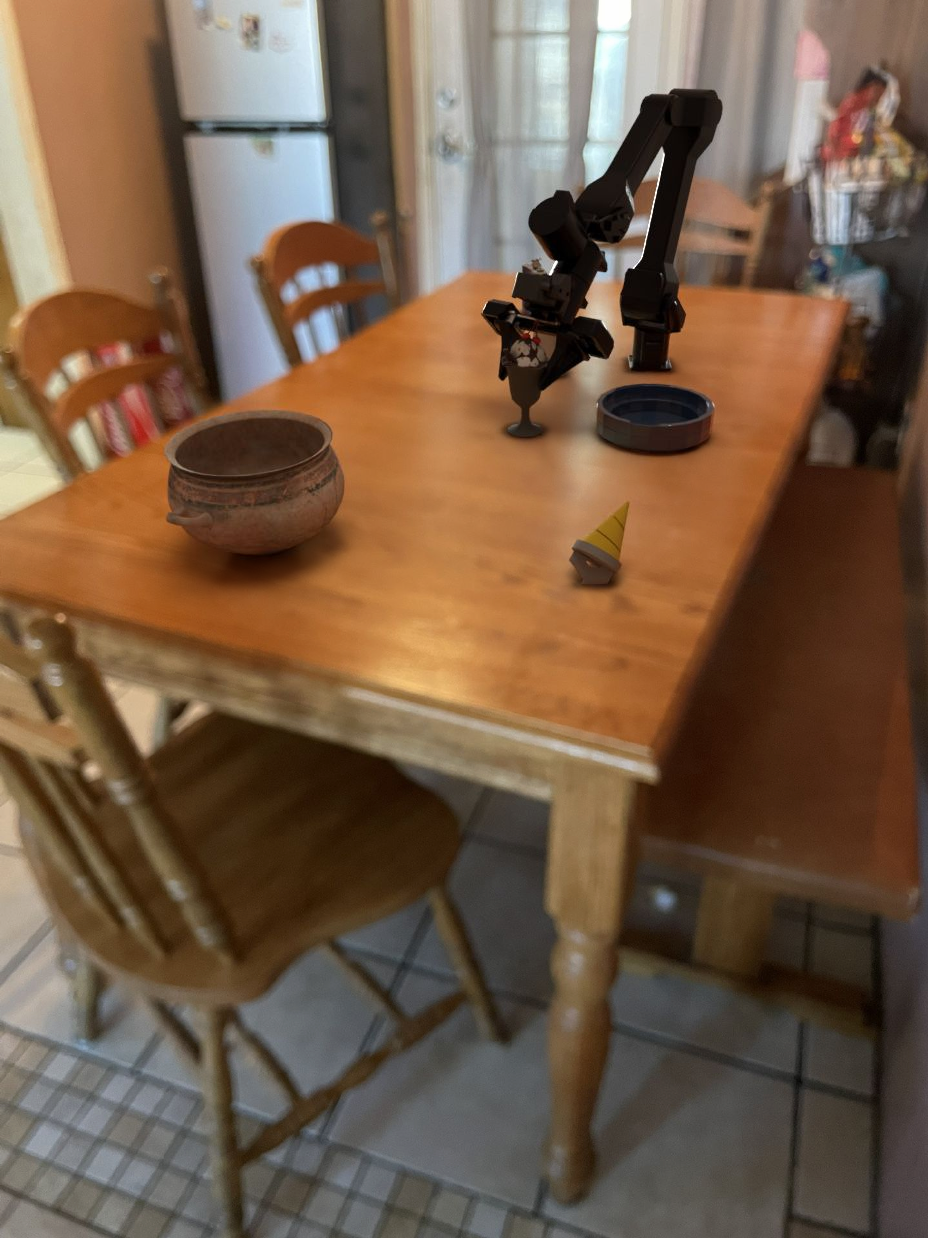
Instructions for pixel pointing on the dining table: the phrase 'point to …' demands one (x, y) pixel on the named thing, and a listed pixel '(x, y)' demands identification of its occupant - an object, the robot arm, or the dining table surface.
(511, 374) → the sundae
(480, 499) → the dining table surface
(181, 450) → the cooking pot
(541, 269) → the flask
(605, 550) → the drill bit
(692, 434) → the bowl
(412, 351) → the dining table surface
